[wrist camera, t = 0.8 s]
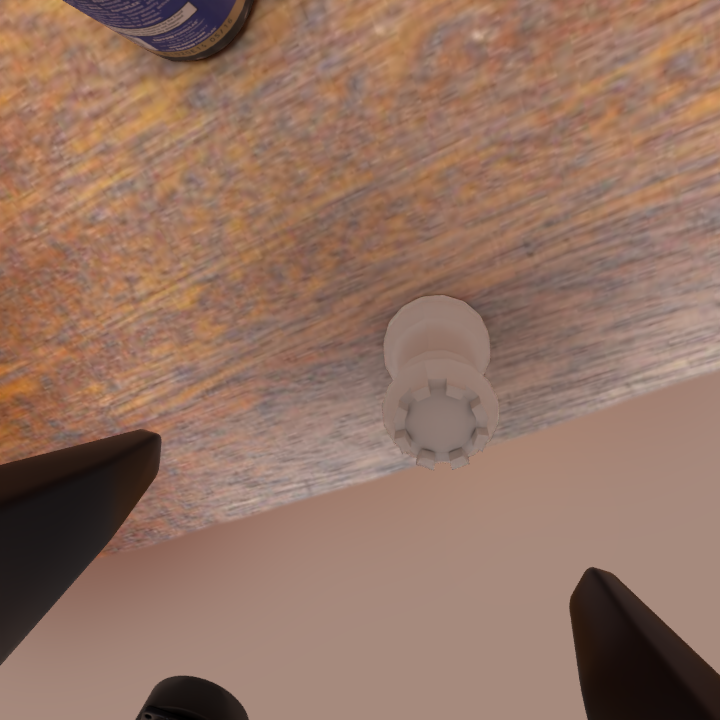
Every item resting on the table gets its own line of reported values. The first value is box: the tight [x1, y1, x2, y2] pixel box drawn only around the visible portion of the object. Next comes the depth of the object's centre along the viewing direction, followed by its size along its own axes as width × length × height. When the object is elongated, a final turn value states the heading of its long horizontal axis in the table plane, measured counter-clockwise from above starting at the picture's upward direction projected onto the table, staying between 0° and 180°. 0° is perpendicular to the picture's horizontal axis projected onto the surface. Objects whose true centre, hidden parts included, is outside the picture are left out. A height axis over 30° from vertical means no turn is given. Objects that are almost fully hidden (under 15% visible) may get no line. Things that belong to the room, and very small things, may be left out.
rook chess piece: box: [382, 295, 499, 470], centre depth 15 cm, size 4×4×8 cm
